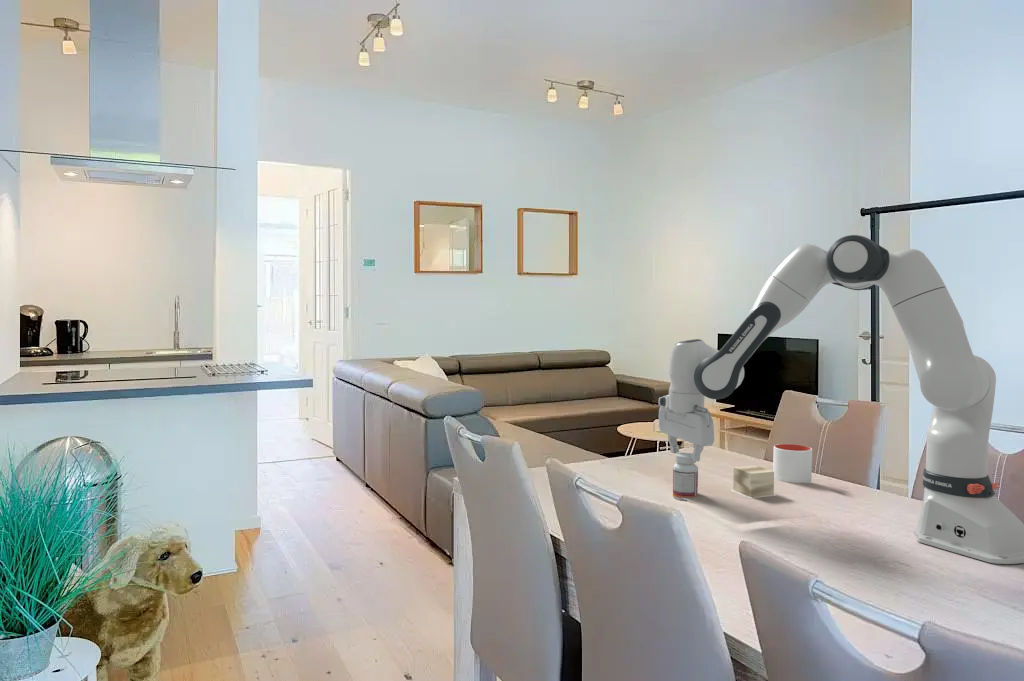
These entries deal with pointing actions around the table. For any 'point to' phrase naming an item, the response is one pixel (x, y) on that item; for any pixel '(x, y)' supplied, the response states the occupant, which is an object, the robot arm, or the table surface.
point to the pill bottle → (685, 477)
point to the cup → (792, 463)
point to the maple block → (753, 481)
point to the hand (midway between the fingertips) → (684, 456)
